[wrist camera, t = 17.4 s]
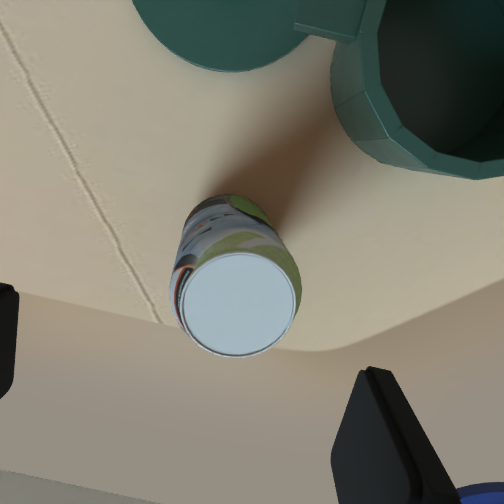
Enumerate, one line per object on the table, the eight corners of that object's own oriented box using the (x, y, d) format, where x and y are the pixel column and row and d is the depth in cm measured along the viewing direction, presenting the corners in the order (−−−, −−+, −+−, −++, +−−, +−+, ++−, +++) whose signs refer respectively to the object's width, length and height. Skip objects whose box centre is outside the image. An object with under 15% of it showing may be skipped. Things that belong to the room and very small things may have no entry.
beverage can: (192, 185, 27) (133, 214, 15) (298, 202, 27) (320, 244, 15) (182, 271, 28) (122, 357, 17) (282, 288, 28) (291, 384, 17)
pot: (517, 195, 26) (632, 217, 18) (269, 136, 26) (269, 130, 18) (596, 3, 23) (778, -78, 15) (316, -67, 23) (343, -188, 14)
